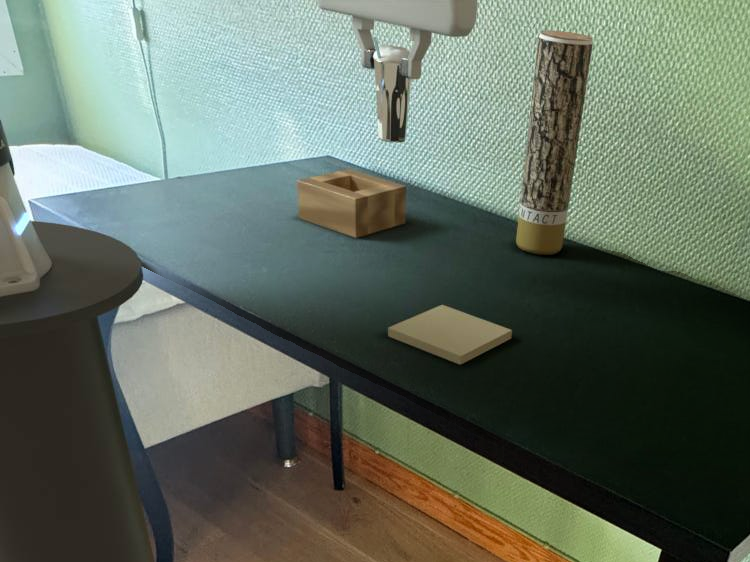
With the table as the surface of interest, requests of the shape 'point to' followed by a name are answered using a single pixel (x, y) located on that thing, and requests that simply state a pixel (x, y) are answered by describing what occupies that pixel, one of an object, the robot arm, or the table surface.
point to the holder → (351, 202)
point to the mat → (450, 334)
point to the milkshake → (391, 92)
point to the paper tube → (552, 139)
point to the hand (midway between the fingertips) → (391, 73)
